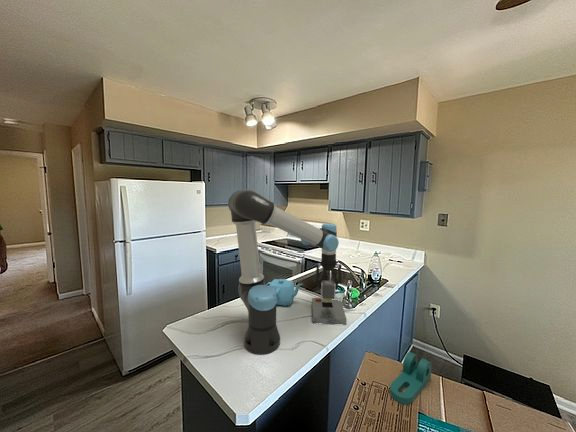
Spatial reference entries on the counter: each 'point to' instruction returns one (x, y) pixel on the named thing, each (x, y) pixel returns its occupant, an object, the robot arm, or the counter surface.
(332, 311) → the socket
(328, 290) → the plug
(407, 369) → the bracket
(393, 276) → the counter surface
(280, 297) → the teapot
